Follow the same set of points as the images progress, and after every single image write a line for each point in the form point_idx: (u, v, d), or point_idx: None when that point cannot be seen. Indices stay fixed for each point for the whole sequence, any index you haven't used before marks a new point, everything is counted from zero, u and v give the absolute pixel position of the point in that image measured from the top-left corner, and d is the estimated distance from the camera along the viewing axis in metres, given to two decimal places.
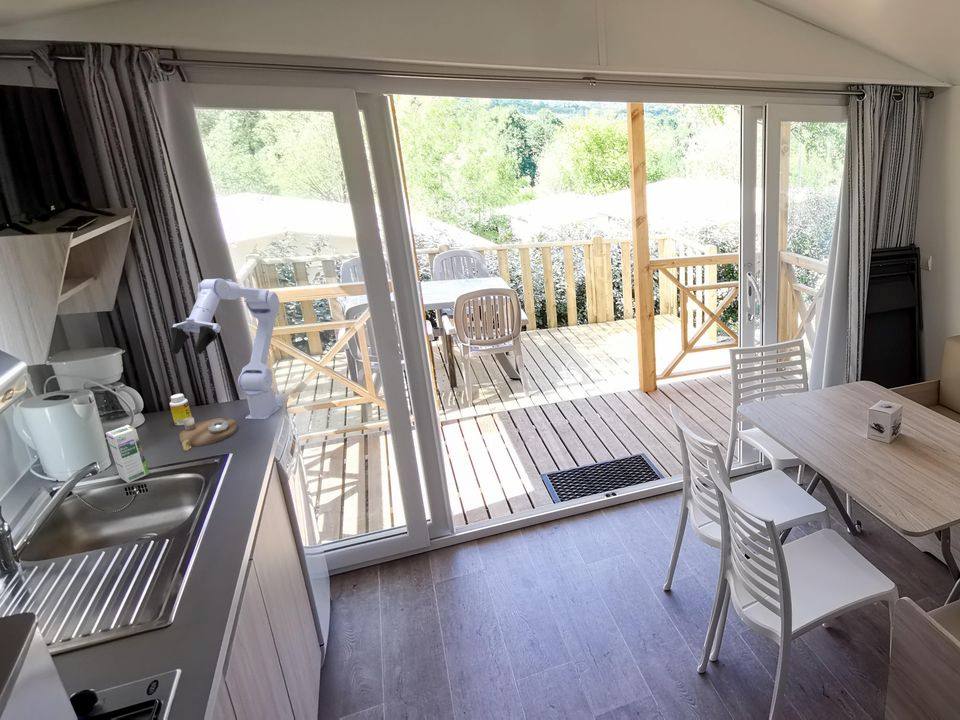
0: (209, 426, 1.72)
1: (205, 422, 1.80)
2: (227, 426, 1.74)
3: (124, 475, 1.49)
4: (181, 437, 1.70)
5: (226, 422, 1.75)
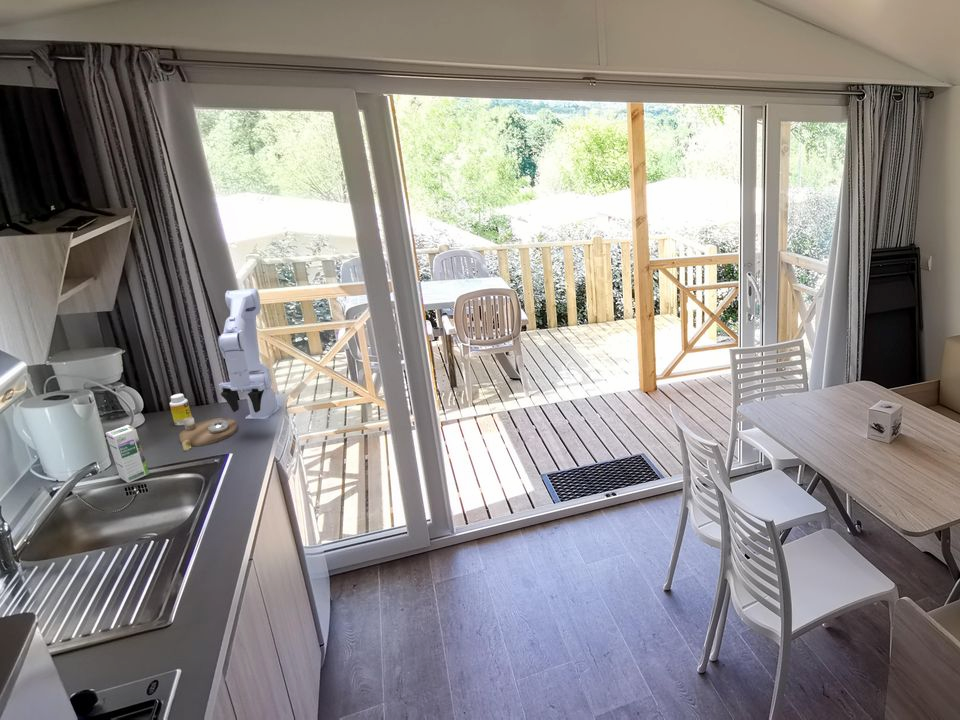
0: (209, 426, 1.72)
1: (205, 422, 1.80)
2: (227, 426, 1.74)
3: (124, 475, 1.49)
4: (181, 437, 1.70)
5: (226, 422, 1.75)
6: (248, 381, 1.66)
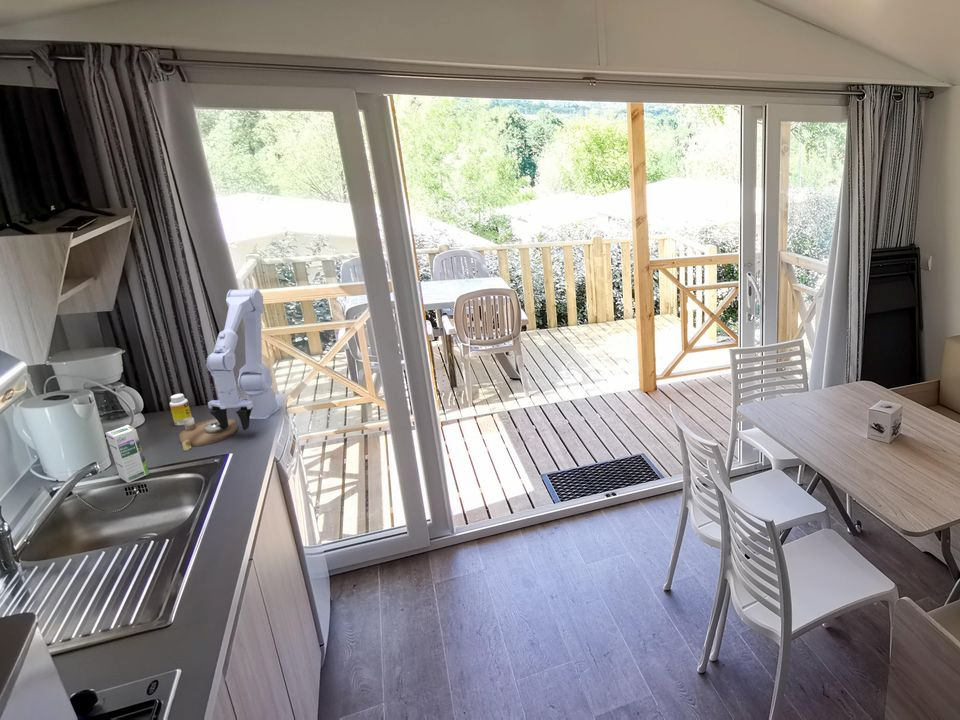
0: (206, 426, 1.73)
1: (205, 422, 1.80)
2: None
3: (124, 475, 1.49)
4: (181, 437, 1.70)
5: None
6: (237, 399, 1.69)
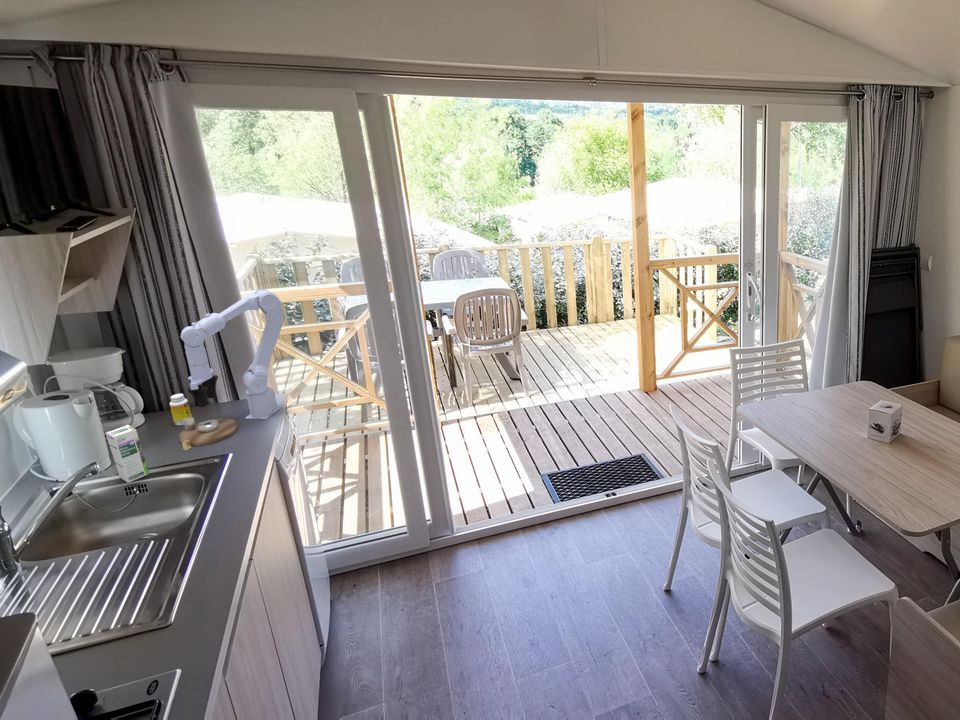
0: (199, 426, 1.73)
1: None
2: (217, 426, 1.75)
3: (124, 475, 1.49)
4: (181, 437, 1.70)
5: (216, 422, 1.75)
6: (197, 376, 1.72)
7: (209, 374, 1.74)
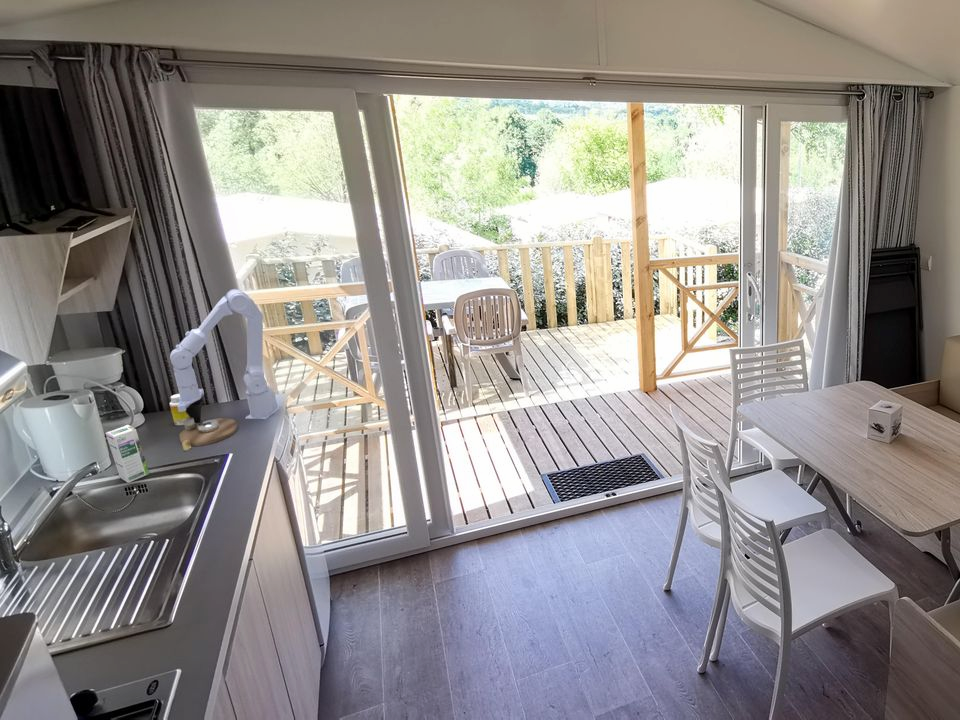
0: (199, 426, 1.73)
1: None
2: (217, 426, 1.75)
3: (124, 475, 1.49)
4: (181, 437, 1.70)
5: (216, 422, 1.75)
6: (186, 398, 1.73)
7: (198, 395, 1.75)
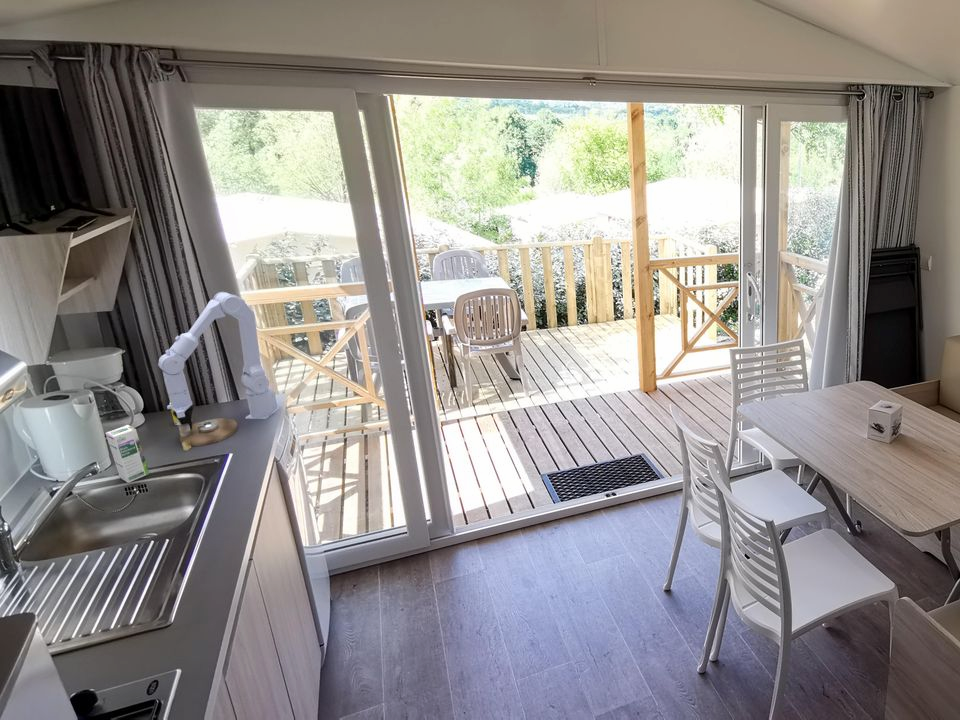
0: (202, 427, 1.72)
1: None
2: None
3: (124, 475, 1.49)
4: (194, 440, 1.68)
5: (213, 420, 1.77)
6: (180, 404, 1.68)
7: (190, 400, 1.71)
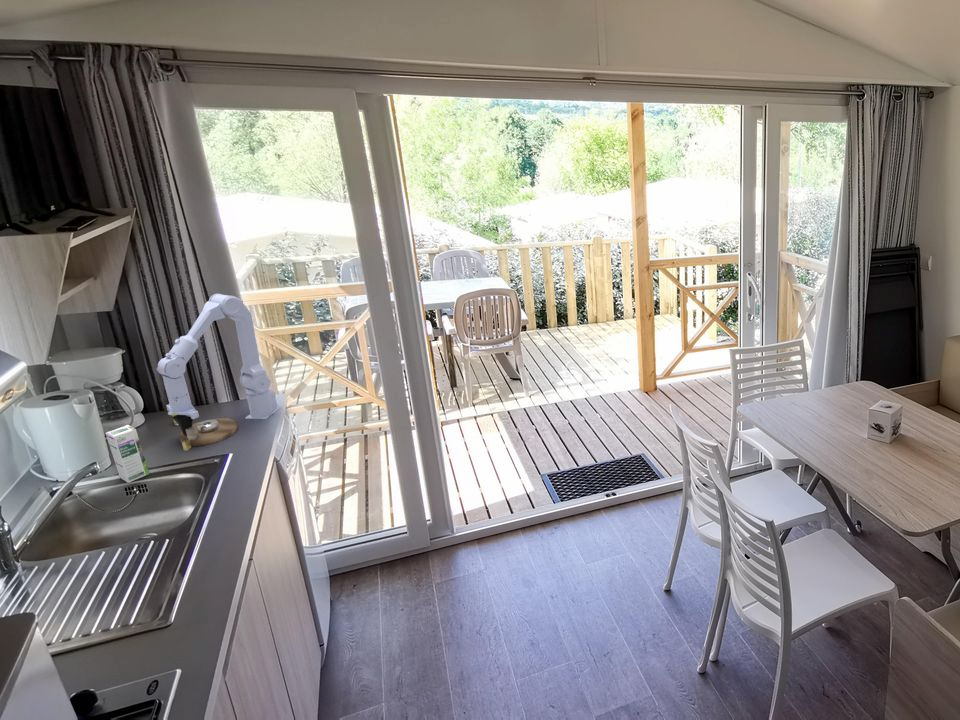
0: (208, 426, 1.73)
1: None
2: None
3: (124, 475, 1.49)
4: (212, 437, 1.69)
5: (208, 420, 1.77)
6: (186, 407, 1.65)
7: None
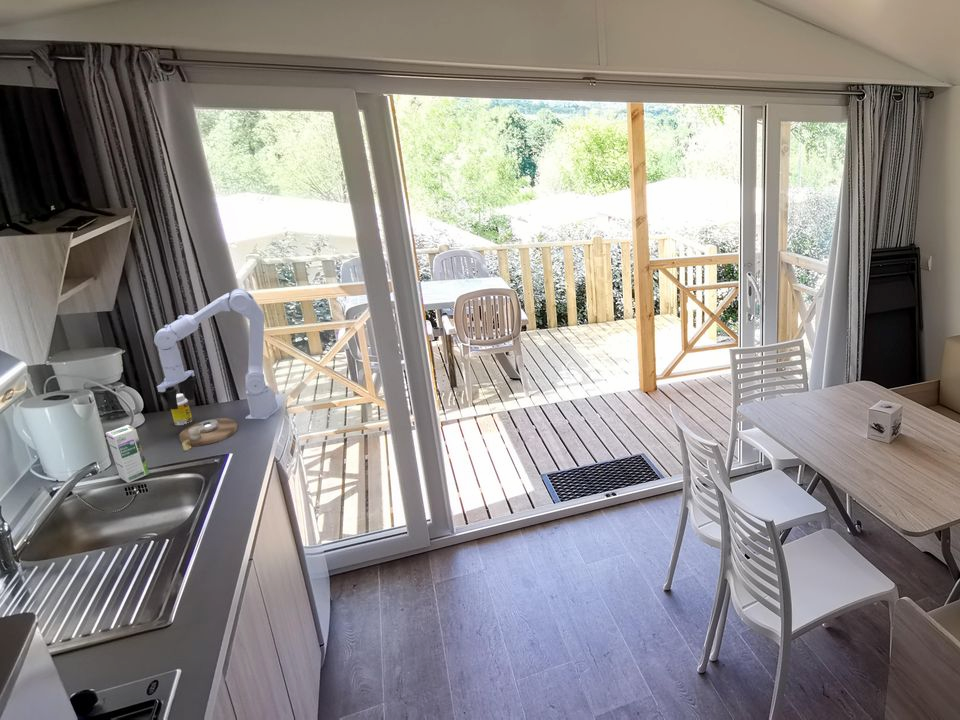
0: (209, 425, 1.73)
1: (185, 435, 1.71)
2: None
3: (124, 475, 1.49)
4: (216, 436, 1.69)
5: (207, 420, 1.77)
6: (168, 378, 1.72)
7: (181, 377, 1.73)
